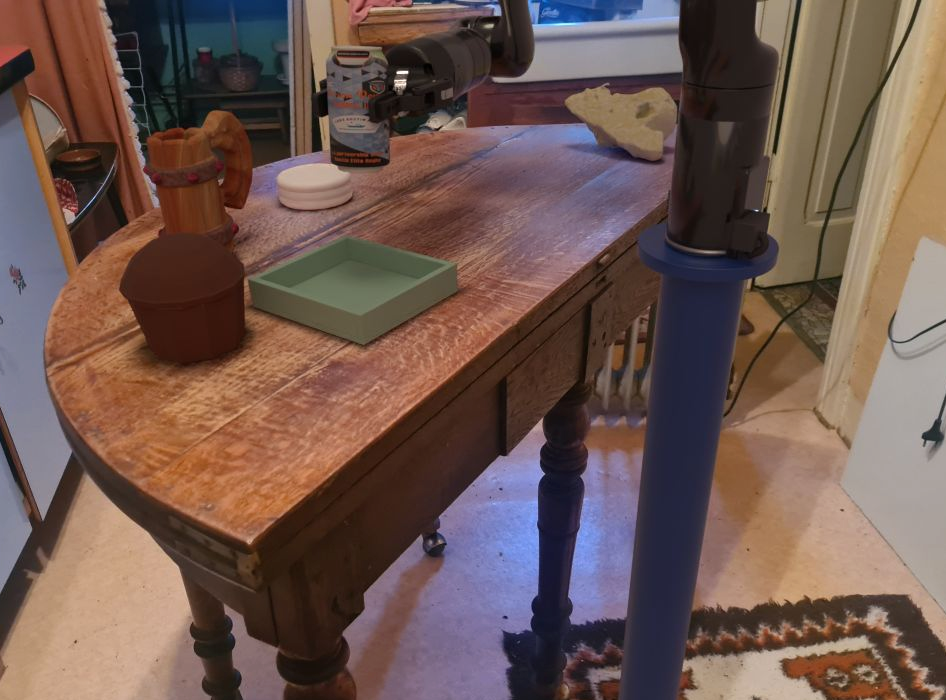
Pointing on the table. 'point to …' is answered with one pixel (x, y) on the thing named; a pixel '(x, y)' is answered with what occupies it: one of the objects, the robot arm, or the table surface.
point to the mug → (201, 177)
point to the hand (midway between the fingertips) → (343, 109)
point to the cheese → (627, 119)
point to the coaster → (314, 186)
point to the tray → (354, 287)
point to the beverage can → (356, 108)
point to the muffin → (186, 296)
